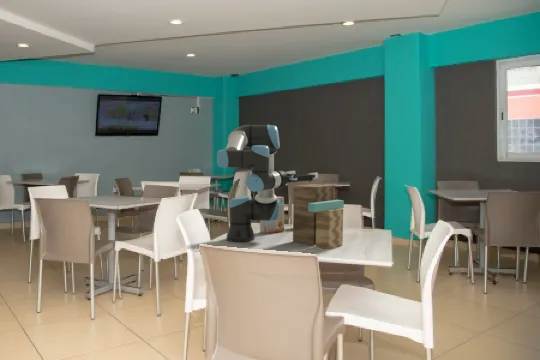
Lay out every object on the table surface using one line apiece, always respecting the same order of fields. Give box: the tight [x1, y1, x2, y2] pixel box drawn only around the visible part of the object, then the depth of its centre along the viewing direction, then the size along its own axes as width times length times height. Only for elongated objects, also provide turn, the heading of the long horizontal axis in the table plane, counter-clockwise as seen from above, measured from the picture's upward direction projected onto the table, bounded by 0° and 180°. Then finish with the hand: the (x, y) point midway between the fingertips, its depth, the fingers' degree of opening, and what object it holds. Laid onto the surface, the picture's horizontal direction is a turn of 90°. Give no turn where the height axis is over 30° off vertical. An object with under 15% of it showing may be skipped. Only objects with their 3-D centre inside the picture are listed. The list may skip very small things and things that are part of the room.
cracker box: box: [259, 196, 285, 235], centre depth 287 cm, size 14×6×21 cm, turn 123°
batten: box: [308, 199, 345, 212], centre depth 244 cm, size 24×4×4 cm, turn 136°
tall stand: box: [292, 183, 336, 246], centre depth 259 cm, size 18×14×30 cm
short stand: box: [315, 208, 344, 250], centre depth 246 cm, size 12×8×19 cm, turn 136°
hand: (305, 174), depth 230 cm, fingers open, 13 cm apart
